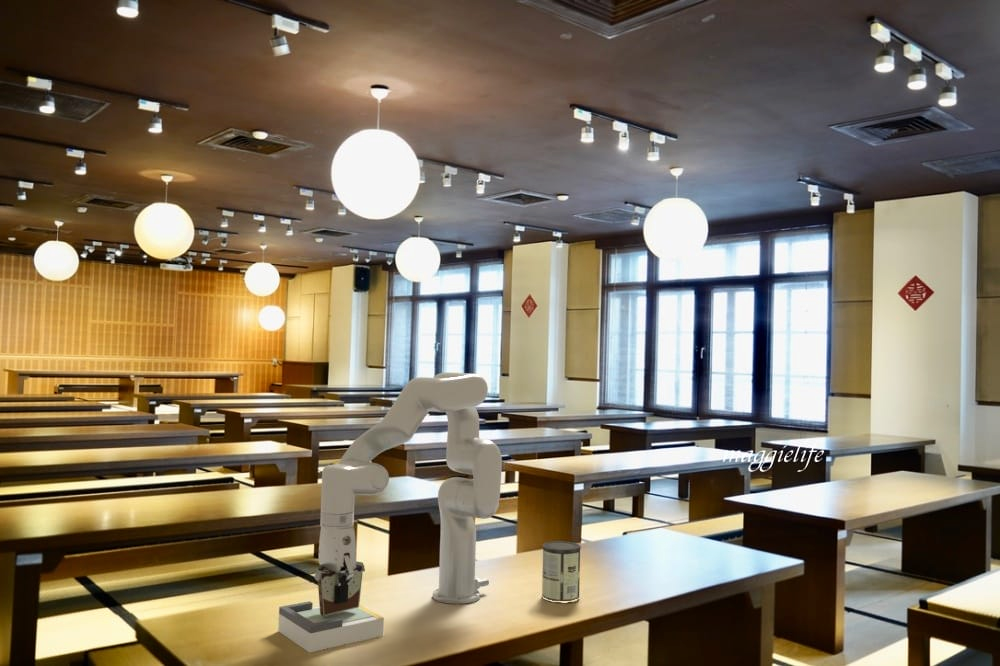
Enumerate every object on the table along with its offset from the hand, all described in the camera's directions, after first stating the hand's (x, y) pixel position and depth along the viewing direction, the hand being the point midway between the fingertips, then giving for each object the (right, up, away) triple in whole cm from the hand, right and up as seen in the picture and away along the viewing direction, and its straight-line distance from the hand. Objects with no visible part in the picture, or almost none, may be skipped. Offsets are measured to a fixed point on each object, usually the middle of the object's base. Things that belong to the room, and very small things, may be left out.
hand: (334, 598), depth 177 cm
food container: (0, -3, 0) cm, 3 cm away
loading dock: (-1, -8, -1) cm, 8 cm away
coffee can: (+54, -11, +32) cm, 64 cm away
